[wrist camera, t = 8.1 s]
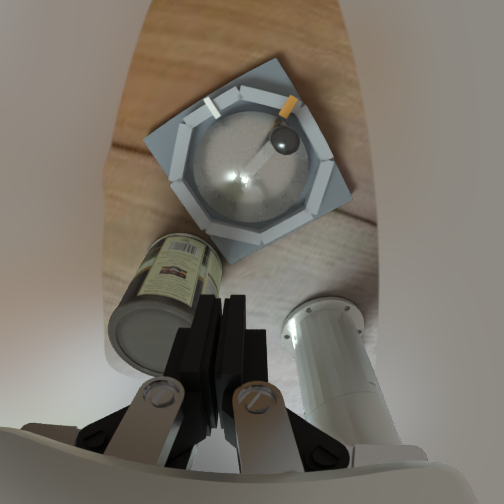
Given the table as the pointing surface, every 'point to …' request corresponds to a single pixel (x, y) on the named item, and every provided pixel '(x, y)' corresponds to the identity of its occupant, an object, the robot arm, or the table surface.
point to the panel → (234, 101)
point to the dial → (250, 166)
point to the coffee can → (163, 300)
